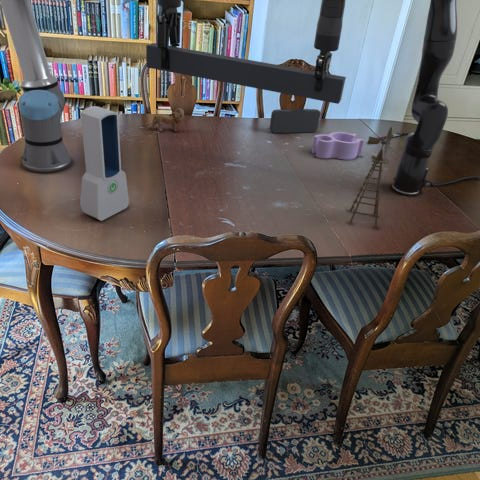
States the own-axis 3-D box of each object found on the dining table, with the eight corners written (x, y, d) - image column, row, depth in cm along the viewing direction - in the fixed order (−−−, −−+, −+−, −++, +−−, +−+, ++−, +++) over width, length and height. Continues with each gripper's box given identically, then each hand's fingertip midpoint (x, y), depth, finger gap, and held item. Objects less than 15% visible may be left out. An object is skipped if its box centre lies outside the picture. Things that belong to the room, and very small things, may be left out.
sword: (405, 131, 223) (406, 129, 223) (410, 133, 221) (411, 131, 221) (362, 143, 208) (363, 140, 207) (367, 145, 206) (368, 143, 205)
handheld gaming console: (314, 130, 214) (318, 108, 209) (317, 132, 212) (321, 110, 207) (268, 131, 207) (271, 109, 202) (270, 133, 205) (273, 111, 200)
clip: (320, 160, 184) (324, 144, 180) (307, 148, 194) (310, 132, 190) (364, 158, 190) (368, 142, 186) (349, 146, 200) (352, 131, 196)
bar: (146, 67, 164) (146, 45, 160) (153, 64, 168) (153, 42, 164) (338, 103, 148) (343, 80, 144) (340, 100, 152) (345, 76, 148)
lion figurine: (182, 127, 202) (182, 106, 197) (185, 131, 197) (185, 110, 193) (148, 128, 197) (147, 107, 192) (150, 132, 193) (150, 111, 188)
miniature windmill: (376, 228, 143) (404, 134, 127) (348, 223, 144) (372, 129, 128) (375, 214, 150) (401, 124, 134) (349, 209, 151) (371, 119, 135)
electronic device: (98, 222, 131) (90, 118, 115) (80, 214, 134) (69, 111, 118) (130, 206, 140) (126, 108, 124) (111, 198, 143) (105, 101, 127)
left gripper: (167, -4, 143) (166, 74, 156) (191, -8, 158) (189, 64, 170) (145, -8, 145) (146, 70, 157) (171, -11, 159) (170, 60, 172)
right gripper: (336, 37, 135) (326, 96, 144) (344, 31, 146) (334, 86, 155) (311, 34, 137) (302, 92, 146) (320, 28, 148) (312, 82, 157)
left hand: (168, 66), depth 164 cm, fingers closed on bar, 5 cm apart
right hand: (319, 89), depth 151 cm, fingers closed on bar, 5 cm apart
